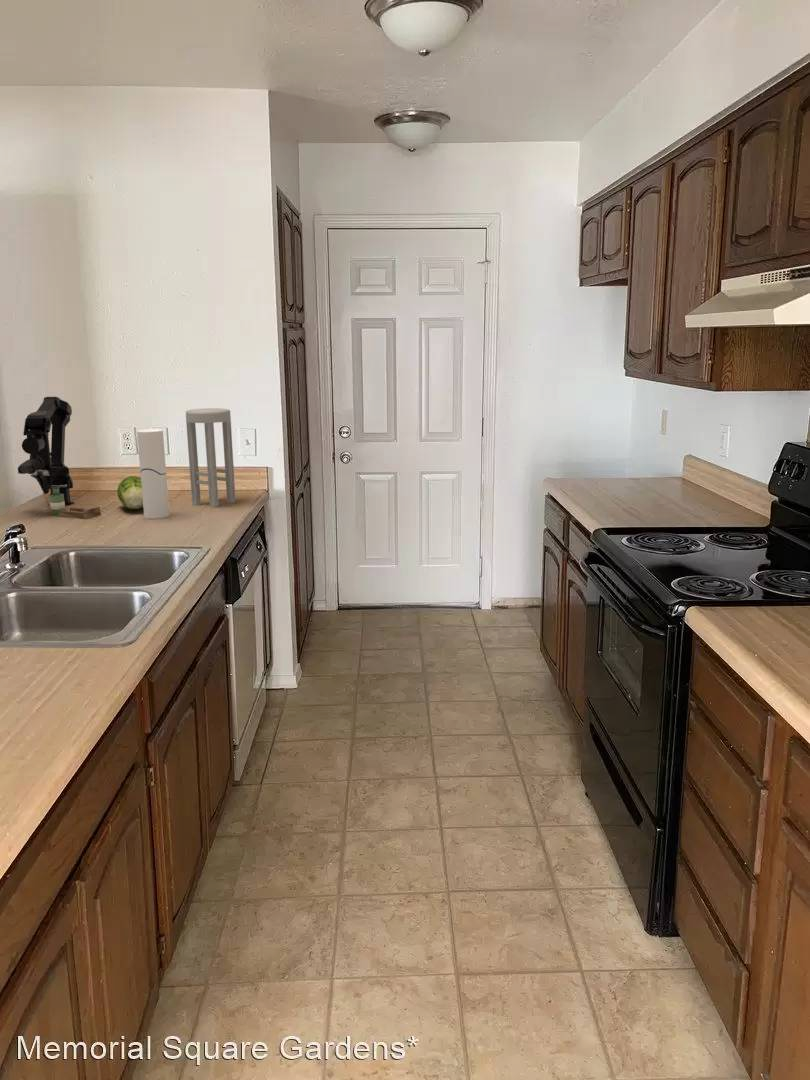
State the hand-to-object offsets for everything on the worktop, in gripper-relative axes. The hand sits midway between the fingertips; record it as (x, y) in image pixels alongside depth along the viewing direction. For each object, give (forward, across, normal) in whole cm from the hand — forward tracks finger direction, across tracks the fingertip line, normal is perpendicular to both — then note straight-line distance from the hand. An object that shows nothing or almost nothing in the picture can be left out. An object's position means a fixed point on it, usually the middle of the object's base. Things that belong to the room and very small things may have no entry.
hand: (46, 493), depth 299 cm
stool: (+7, +46, +36) cm, 59 cm away
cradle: (+7, +14, 0) cm, 15 cm away
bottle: (+7, +5, 0) cm, 9 cm away
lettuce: (+7, +26, +16) cm, 31 cm away
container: (+7, +41, +9) cm, 42 cm away
